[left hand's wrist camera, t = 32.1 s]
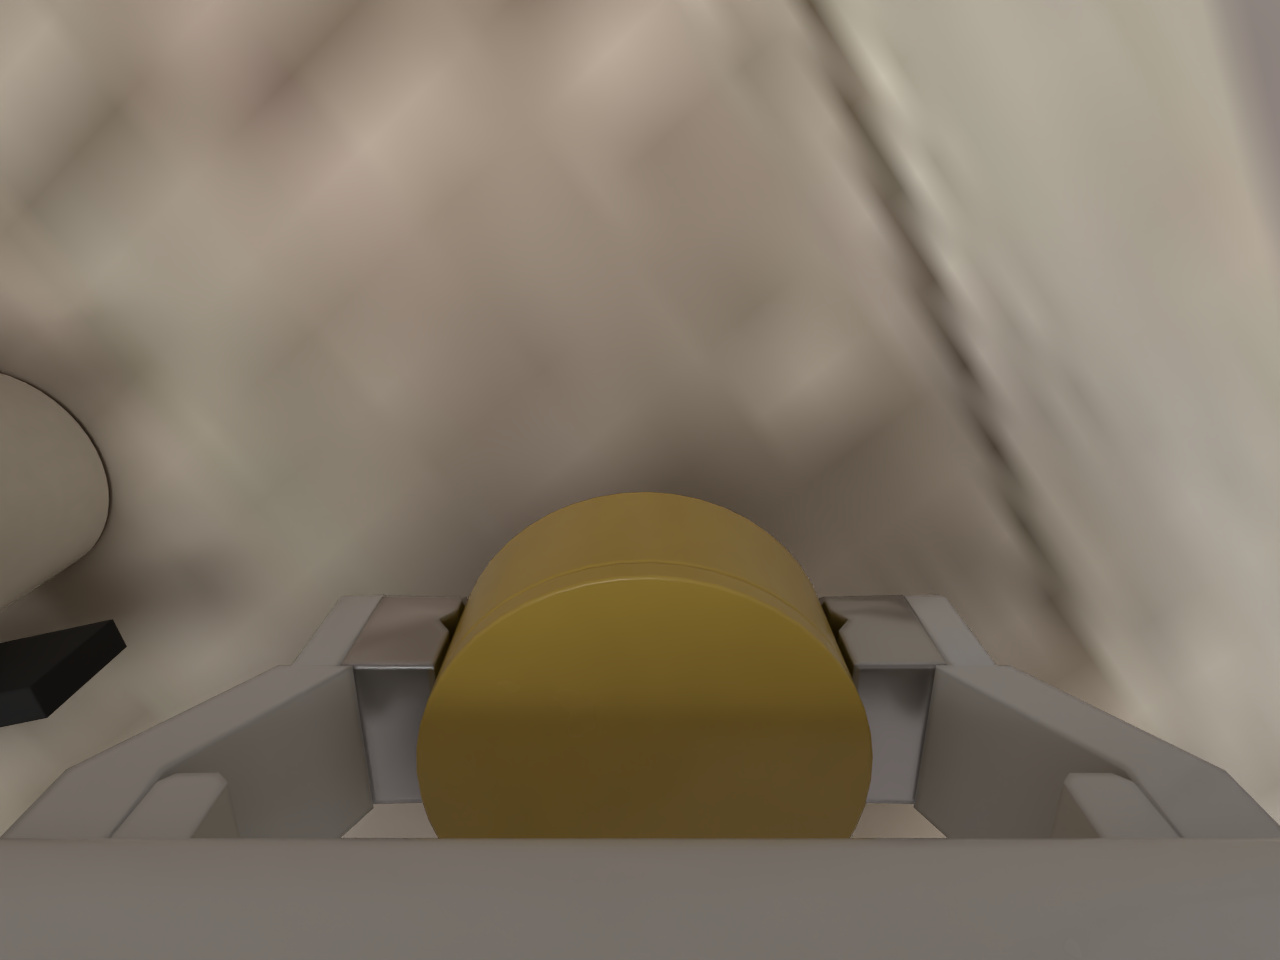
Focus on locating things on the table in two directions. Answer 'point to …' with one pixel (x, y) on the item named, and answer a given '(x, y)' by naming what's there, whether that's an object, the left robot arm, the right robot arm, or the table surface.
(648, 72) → the table surface
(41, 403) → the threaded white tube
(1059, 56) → the table surface
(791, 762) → the cap
